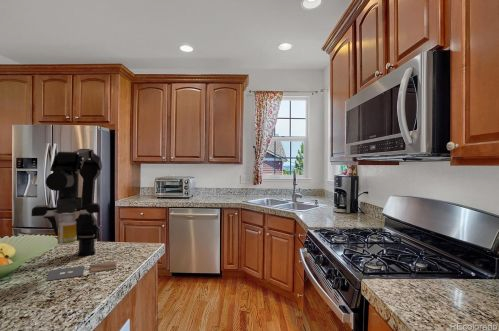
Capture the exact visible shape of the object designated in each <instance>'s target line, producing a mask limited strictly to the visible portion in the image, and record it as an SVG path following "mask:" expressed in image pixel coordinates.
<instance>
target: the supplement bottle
mask: <svg viewBox="0 0 499 331" xmlns="http://www.w3.org/2000/svg"><path fill="white" fill-rule="evenodd" d="M77 241H78V240H77V221H76V215H75V213H62V214H60V221H58V236H57V245H59V246H67V245H68V246H69V245H73V244H76V243H77Z"/></svg>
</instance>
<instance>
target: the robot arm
mask: <svg viewBox="0 0 499 331" xmlns="http://www.w3.org/2000/svg"><path fill="white" fill-rule="evenodd" d="M50 166H51V167H50V169H49V170H50V171H49V172H51V173H50V174H49V175H47V176H46V179H45V185H46V187H47V188H48V189H49V190H51V191H56V192H57V199H56V205H55V206H52V207H51V206H50V204H43V205H42V204H41V205H40V204H39V205H35V206H33V208H32V209H31V217H42V216H43V219H47V220H48V221H49V222H50V224H51V226H52V229H53V231H54V234H55V237H56V236H57V237H58V223H59V221H58V215H62V214H75V213H76V212H79V215H78V217H77V218H75V220H76V221H77V241H78V251H77V254H76V257H82V256H90V255H91V256H92V255H96V249H95V246H96V245H95V243H96V242H95V240H98V239H100V238H101V232H100V227H99V225H98V224H97V223H98V220H97V219H96V217H95V215H94V214H97V213H100V207H101V206H100V205H101V204H99V203H98V202H95V189H96V180H97V179H98V178H99V176H100V175H101V171H102V170H103V164H102V159H101V156H99V155H97V154H96V153H95V152H94V149H91V148H78V149H77V150H74V151H58V152H57V153H56V154H55V156H54V158H53V160H52V164H51V165H50ZM79 175H80V176H79ZM80 177H81V178H82V189H81V197H80V196H79V181H80Z"/></svg>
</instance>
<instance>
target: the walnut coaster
mask: <svg viewBox="0 0 499 331" xmlns="http://www.w3.org/2000/svg"><path fill="white" fill-rule="evenodd" d="M111 269H112V270H117V263H116V261H109V262H108V261H107V262H99V263H91V264H90V269H89V270H90V271H89V272H90V273H97V272H104V271H109V270H111Z"/></svg>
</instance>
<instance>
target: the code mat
mask: <svg viewBox="0 0 499 331" xmlns="http://www.w3.org/2000/svg"><path fill="white" fill-rule="evenodd" d="M84 270H85V265H80V266H71V267H64V268H59V269H58V268H56V269H51V270H50V271H49V272H48V275H47V277H46V278H45V282H51V281H56V280H62V279H69V278H70V279H71V278H77V277H78V278H79V277H83V276H84V272H85V271H84Z"/></svg>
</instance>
